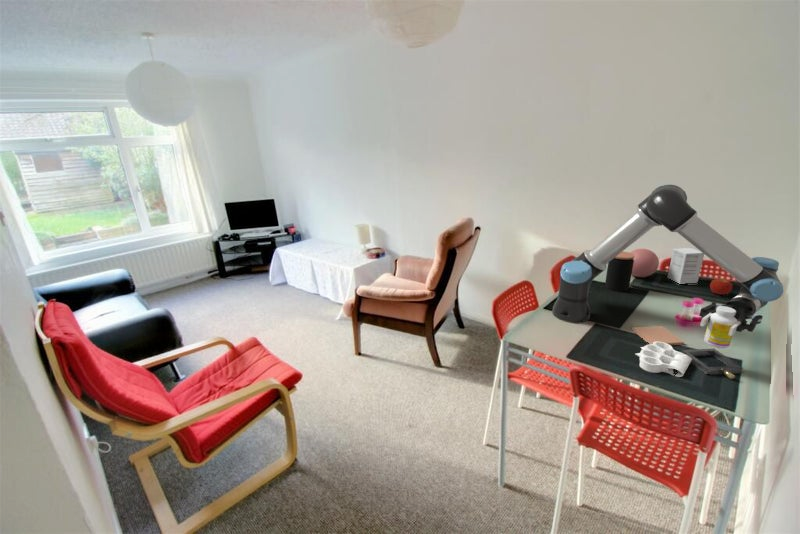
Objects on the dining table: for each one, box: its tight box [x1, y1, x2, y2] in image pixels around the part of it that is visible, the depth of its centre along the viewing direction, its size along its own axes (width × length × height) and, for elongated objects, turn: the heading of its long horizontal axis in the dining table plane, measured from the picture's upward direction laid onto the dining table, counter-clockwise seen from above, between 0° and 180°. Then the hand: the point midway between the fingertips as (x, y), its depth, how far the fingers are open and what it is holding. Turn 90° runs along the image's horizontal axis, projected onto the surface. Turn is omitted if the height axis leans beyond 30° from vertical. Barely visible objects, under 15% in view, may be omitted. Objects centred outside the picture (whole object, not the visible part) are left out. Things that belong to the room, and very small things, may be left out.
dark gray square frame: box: [680, 348, 744, 380], centre depth 122 cm, size 11×14×2 cm
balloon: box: [629, 248, 660, 278], centre depth 196 cm, size 15×20×15 cm
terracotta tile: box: [631, 325, 685, 346], centre depth 140 cm, size 12×12×1 cm
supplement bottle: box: [703, 305, 737, 349], centre depth 118 cm, size 7×7×13 cm
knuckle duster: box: [635, 341, 692, 378], centre depth 125 cm, size 3×18×15 cm
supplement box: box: [667, 247, 705, 285], centre depth 185 cm, size 10×9×17 cm
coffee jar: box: [604, 251, 635, 292], centre depth 181 cm, size 11×11×18 cm
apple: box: [709, 278, 733, 295], centre depth 170 cm, size 8×8×8 cm
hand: (716, 327), depth 115 cm, fingers closed on supplement bottle, 7 cm apart
